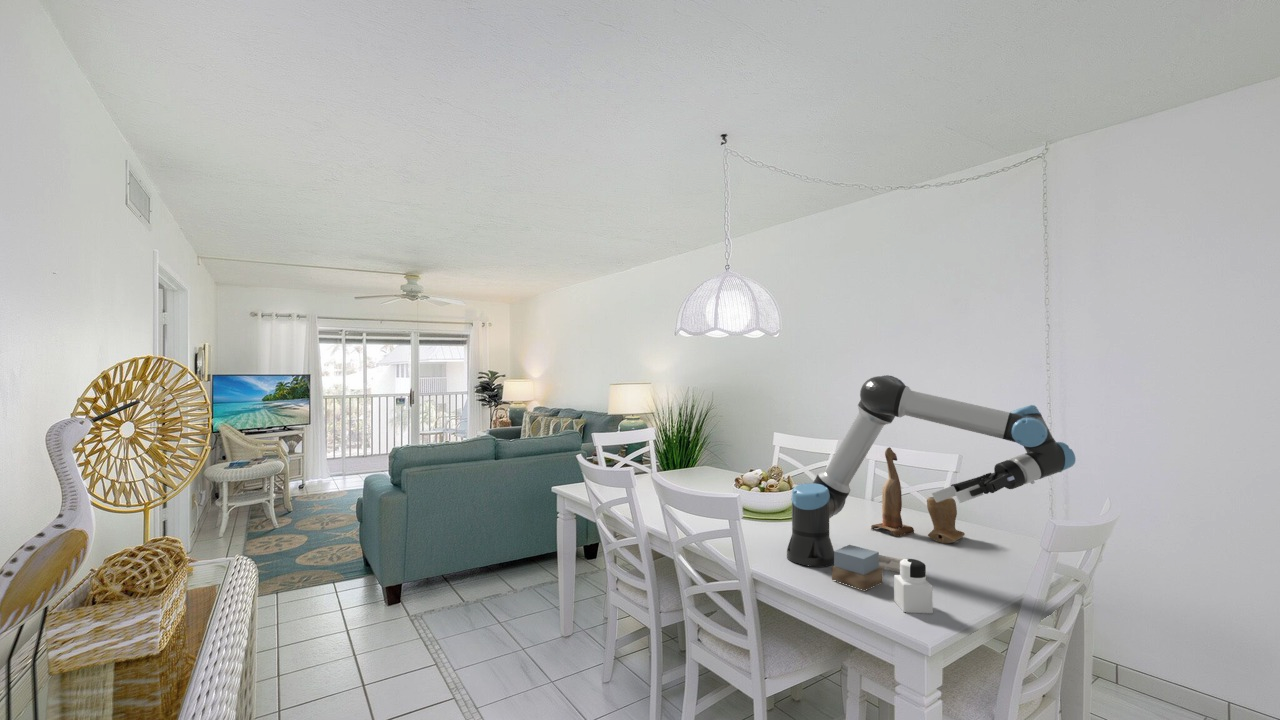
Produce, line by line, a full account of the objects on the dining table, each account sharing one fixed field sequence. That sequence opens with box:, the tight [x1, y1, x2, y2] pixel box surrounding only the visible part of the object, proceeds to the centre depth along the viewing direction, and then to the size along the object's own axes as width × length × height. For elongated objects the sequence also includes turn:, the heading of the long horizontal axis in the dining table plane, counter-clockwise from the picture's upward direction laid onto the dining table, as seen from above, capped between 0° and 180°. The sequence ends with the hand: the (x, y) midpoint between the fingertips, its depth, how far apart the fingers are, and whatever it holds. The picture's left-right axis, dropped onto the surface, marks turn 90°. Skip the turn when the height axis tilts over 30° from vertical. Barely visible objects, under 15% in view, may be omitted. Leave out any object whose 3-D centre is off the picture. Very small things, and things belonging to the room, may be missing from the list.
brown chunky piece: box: [926, 496, 965, 544], centre depth 203 cm, size 15×12×15 cm
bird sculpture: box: [870, 446, 915, 538], centre depth 212 cm, size 11×12×32 cm
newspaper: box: [879, 554, 905, 574], centre depth 179 cm, size 23×12×2 cm, turn 56°
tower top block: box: [833, 544, 880, 575], centre depth 163 cm, size 9×9×4 cm
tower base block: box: [831, 565, 883, 591], centre depth 162 cm, size 10×10×4 cm
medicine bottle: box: [893, 558, 934, 614], centre depth 145 cm, size 7×7×12 cm
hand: (945, 497), depth 155 cm, fingers open, 13 cm apart
